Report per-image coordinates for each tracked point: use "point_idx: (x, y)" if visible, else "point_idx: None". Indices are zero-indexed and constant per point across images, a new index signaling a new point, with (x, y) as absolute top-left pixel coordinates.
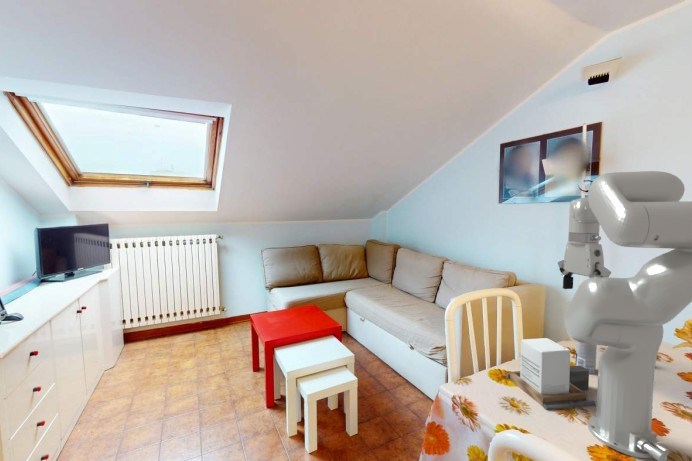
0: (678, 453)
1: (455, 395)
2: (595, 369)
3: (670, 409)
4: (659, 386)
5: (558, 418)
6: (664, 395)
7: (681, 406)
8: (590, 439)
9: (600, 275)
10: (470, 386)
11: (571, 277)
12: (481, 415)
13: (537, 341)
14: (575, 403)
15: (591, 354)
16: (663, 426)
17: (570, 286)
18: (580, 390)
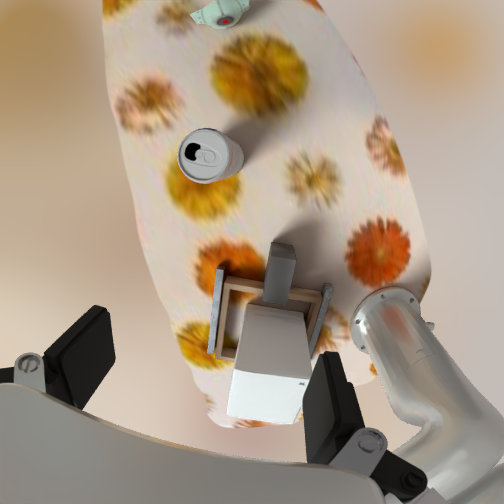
0: (428, 281)
1: (234, 425)
2: (240, 146)
3: (384, 160)
4: (326, 77)
5: None
6: (352, 110)
7: (384, 128)
8: (366, 356)
9: (346, 478)
10: (220, 403)
11: (65, 374)
12: (279, 424)
13: (249, 402)
14: (321, 324)
15: (236, 165)
16: (402, 233)
17: (104, 336)
18: (310, 299)
